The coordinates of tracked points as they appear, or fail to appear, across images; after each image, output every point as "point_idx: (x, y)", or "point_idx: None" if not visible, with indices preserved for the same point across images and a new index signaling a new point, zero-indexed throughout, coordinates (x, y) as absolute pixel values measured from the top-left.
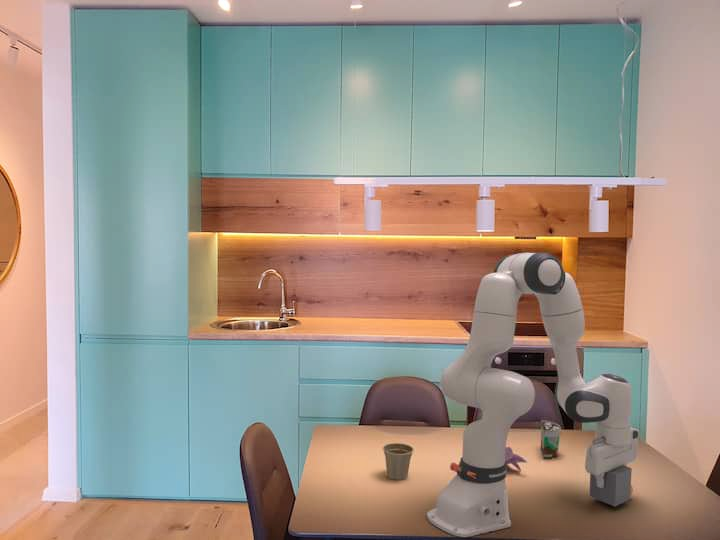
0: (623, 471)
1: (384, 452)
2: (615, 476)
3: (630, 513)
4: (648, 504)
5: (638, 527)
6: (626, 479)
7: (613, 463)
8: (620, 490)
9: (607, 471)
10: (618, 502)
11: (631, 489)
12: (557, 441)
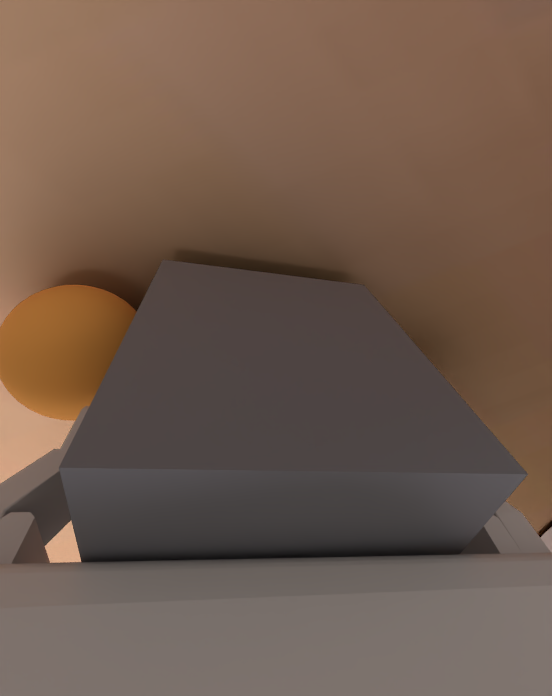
0: (332, 474)
1: None
2: (500, 458)
3: (298, 190)
4: (19, 144)
5: (505, 40)
6: (231, 367)
7: (449, 674)
8: (329, 326)
9: (514, 556)
10: (328, 286)
11: (60, 303)
12: None
